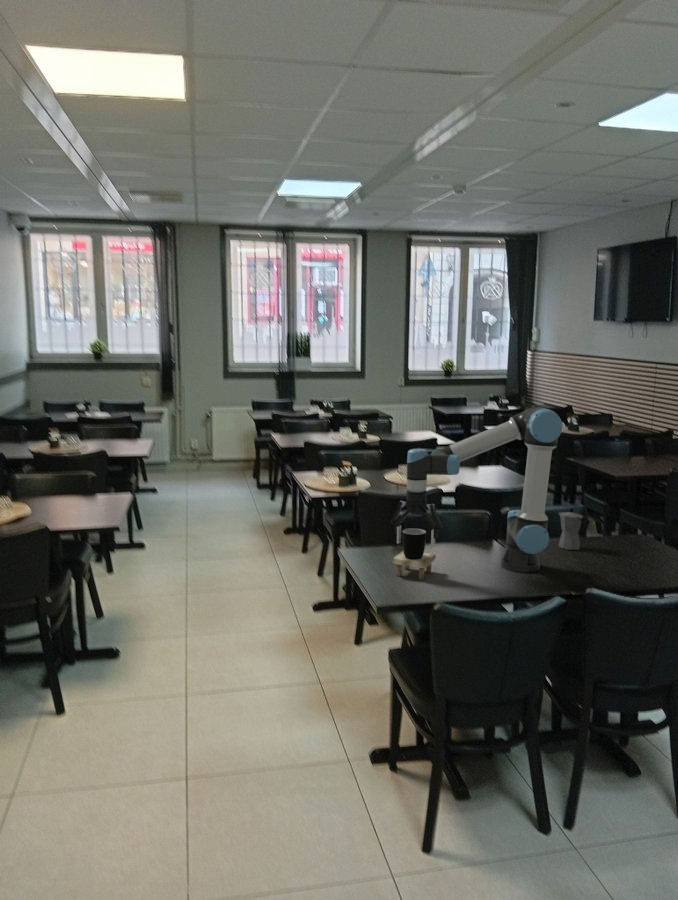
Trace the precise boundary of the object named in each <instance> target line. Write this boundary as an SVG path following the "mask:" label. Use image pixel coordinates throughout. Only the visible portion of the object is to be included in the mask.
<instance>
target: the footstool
mask: <svg viewBox="0 0 678 900" xmlns="http://www.w3.org/2000/svg"><path fill="white" fill-rule="evenodd" d="M436 557H437V555H436V554H435V553H430V552H429V553H428V552H424V553H423V556H422V558H421V559H408V558H406V557H405V555H404V551H403V550H401V551H400V553H398V554H397V555H395V556H394V557H393V558H392V565H393V564H394V565H396V571H395V572H396V577H402V574H403V573H402V572H403V570H404V569H405V571H409V570H410V567H412V568H419V569H418V580H420V581H425V575H426V574H425V573H427V574H431V573H432V563H433V562H434V561H435V560H436ZM402 568H403V569H402ZM408 569H409V570H408Z"/></svg>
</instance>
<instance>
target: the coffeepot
mask: <svg viewBox="0 0 678 900" xmlns="http://www.w3.org/2000/svg"><path fill="white" fill-rule="evenodd" d="M557 514H558V515H559V517H560V527H561V528H560V529H561V530H562V531H561V534H560V538H559V542H558V546H559V547H561V548H565V549H579V547H580V548H581V544H580V542H581V541H580V535H582V536H583V535H585V534H586V533H587V532H586V531H587V528H588V527H589V525H590V521H589V518H588V516H583V515H582V514H580V513H578V512H574V508H572V507H571V508H569V511H567V512H566V511H565V512H563V511H562V512H558V513H557ZM582 521H584V524H583V525H584V526H583V528H582V532H581V531H580V529H581V523H582ZM579 531H580V532H579ZM559 547H558V548H559ZM579 550H580V549H579Z"/></svg>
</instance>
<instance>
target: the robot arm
mask: <svg viewBox="0 0 678 900" xmlns="http://www.w3.org/2000/svg"><path fill="white" fill-rule="evenodd" d="M562 431H563V422H562V419H561V418H560V416H559V415H558V413H557V412H555V411H554V410H552V409H550V408H545V407H543V406H534V407H530V408H528V409H526V410H524V411H522V412H520V413H518V414H516V415H513V416H511V417H509V420H508V421H506V422H502V423H501V424H498V425H496V426H494V427H491V428H489V429H486V430H484V431H482V432H479V433H476V434H474V435H472V436H469V437H467V438H464V439H462V440H459V441H457V442H455V443H453V444H450V445H448V446H445V447H443V448H436V449H434V450H433V451H432V452H431V454H429V453H428V450H427V449H424V448H423V449H422V448H411V449H409V450H408V451H407V459H406V489H407V490H406V501H404V500H400V501H398V502H397V508H396V509H395V511H394V513H393V516H391V517H392V518H391V519H390V521H389V524H390V525H393V526H394V534H395V535H396V544H400V543H401V542H402V525H400V524H401V523H402V522H403V521H404V519H406V518H407V516H408V515H410V514H411V515H417V516H422V517H423V518H424V519H425V521H426V522H427V523H428V524H429V525H430V527H431V532H430V535H431V536H430V537H431V538H430V548H434V547H435V546H436V539H438V537H439V535H438V531H440V530H441V529H443V527H444V526H443V524H442V521H441V518H440V516H439V515H438V513H437V510H436V506H435V505H436V504H435V503H433V502H432V503H427V500H428V499H427V495H428V494H427V493H428V492H427V489H428V484H427V483H428V475H429V476H431V475H433V476H436V475H437V476H457V475H459V473H460V466H461V465H460V464H461V462H462V461H466V460H468V459H470V458H473V457H475V456H478V455H480V454H482V453H485V452H488V451H490V450H492V449H495V448H497V447H500V446H502V445H505V444H507V443H510V442H512V441H515V440H519V441H522V440H524V444H525V446H526V447H527V453H526V455H527V456H526V465H525V472H524V473H525V474H524V482H523V491H522V499H521V508H520V509H510V510H509V511H508V513H507V517H506V518H507V519H506V520H507V524H506V526H507V527H506V543H505V544H506V545H505V549H504V551H503V554H502V555H501V558H500V566H501V567H502V568H503V569H505V570H508V571H511V572H517V573H533V572H536V571H540V568H541V567H540V565H541V563H540V559H539V555H538V554H539V553H540V552H542V551H544V550H545V549H546V548H547V547H548V545H549V543H550V536H549V532H548V524H549V523H548V522H549V518H548V516H547V514H546V512H545V511H546V503H547V496H548V495H547V494H548V487H549V479H550V478H549V477H550V470H551V461H552V455H553V450H554V449H556V448H557V447H558V440H559V439H558V438H560V435H561V434H562ZM404 507H406V508H407V510H406V511H405V512H404V513H403V514H402V515H401V516H400V518H398V517H399V515H400V514H401V511H402V510H403V508H404ZM427 508H428V510H429V511H430V514H431V516H432V517H431V516H430V514H429V513H428V511H427ZM397 519H398V520H397Z"/></svg>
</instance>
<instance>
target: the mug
mask: <svg viewBox="0 0 678 900" xmlns="http://www.w3.org/2000/svg"><path fill="white" fill-rule="evenodd" d="M426 540H427V531H426V530H425V529H421V528H405V529H403V530H401V542H402V551H404V555H405V557H406V558H408V559H421V558H422V556H423V553H425V547H426Z"/></svg>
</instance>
